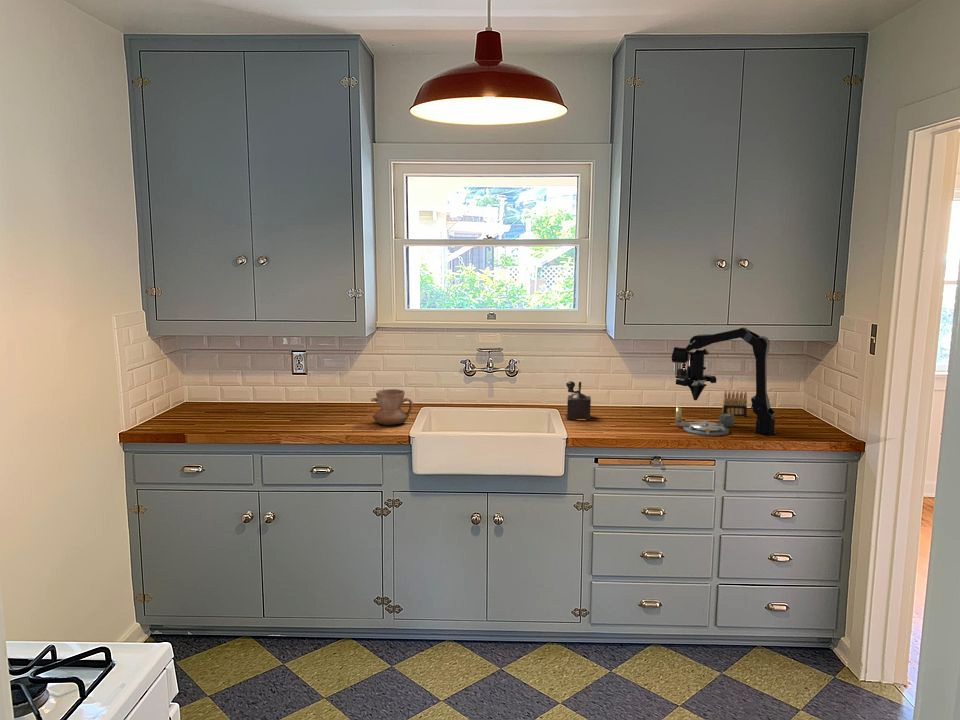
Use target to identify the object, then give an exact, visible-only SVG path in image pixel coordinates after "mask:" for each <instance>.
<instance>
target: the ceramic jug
mask: <svg viewBox="0 0 960 720" xmlns="http://www.w3.org/2000/svg"><path fill="white" fill-rule="evenodd" d="M405 392H406V391H405V390H403V389H399V388H398V389H397V388H388V389H386V388H385V389H381V390H377V391H376V392H375V396H376V397H372V398H370V402H375V403H377V404H379V406H380V409H379V410H377V411H376V412H375V413H373V414H372V418H373V420H374V421H375V423H377V424H380V425H382V424H383V426H397V425H400V424H403V423H405V422H406V421H407V420H408V418H409V417H410V413H411V412H412V410H413V407H414V402H413V400H412V398H409V397H405ZM404 397H405V398H404ZM405 402H408V403H409V408H408V410H407V412H406V411H405V410H403V409H402V408H401V407H402V405H403V404H404V403H405ZM396 424H397V425H396Z"/></svg>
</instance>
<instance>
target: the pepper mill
mask: <svg viewBox="0 0 960 720" xmlns="http://www.w3.org/2000/svg"><path fill="white" fill-rule="evenodd" d="M565 386H566V387H567V392H568V393H571V394H570V395H568V396H567V406H566V408H567V409H566V414H565V418H566V417H567V418H566V420H568V419H586V420H591V407H592V406H591V405H592V404H591V402H592V400H591V399H592V398H591V396H590V395H586V394H584V393H581V392H582V391H581V390H582V381H578V385H577V387H578V389H577V390H574V388H575V387H576V383H575V382H574V381H571V380H570V381H568V382H566V384H565Z"/></svg>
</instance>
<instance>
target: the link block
mask: <svg viewBox="0 0 960 720" xmlns="http://www.w3.org/2000/svg"><path fill="white" fill-rule="evenodd" d="M718 424H723V427H725V428H729V426H731V427H734V426H735V417H734V415H733V414H729V413H728V414H722V413H721V414H719V417H718Z"/></svg>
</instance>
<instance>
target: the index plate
mask: <svg viewBox="0 0 960 720" xmlns="http://www.w3.org/2000/svg"><path fill="white" fill-rule="evenodd" d="M723 428H725V431H716V432H705V431H699V430H695V429H689V426H683V431H684V432H685V433H688V434H692V435H694V436H695V435H696V436H700V437H701V436H703V437H721V436H720V435H724V436H727V435H729V434H730V429H729V427H723Z"/></svg>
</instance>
